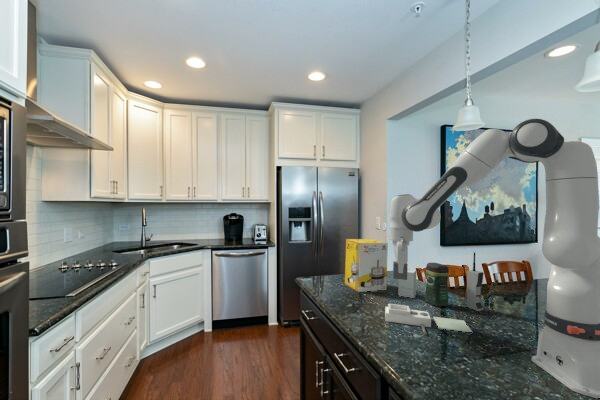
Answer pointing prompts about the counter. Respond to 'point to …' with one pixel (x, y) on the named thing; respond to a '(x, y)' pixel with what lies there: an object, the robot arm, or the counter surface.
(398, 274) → the block
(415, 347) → the counter surface
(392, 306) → the power strip
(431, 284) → the coffee jar
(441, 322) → the mat
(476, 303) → the vintage mobile phone
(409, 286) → the supplement box
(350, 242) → the packaging box
